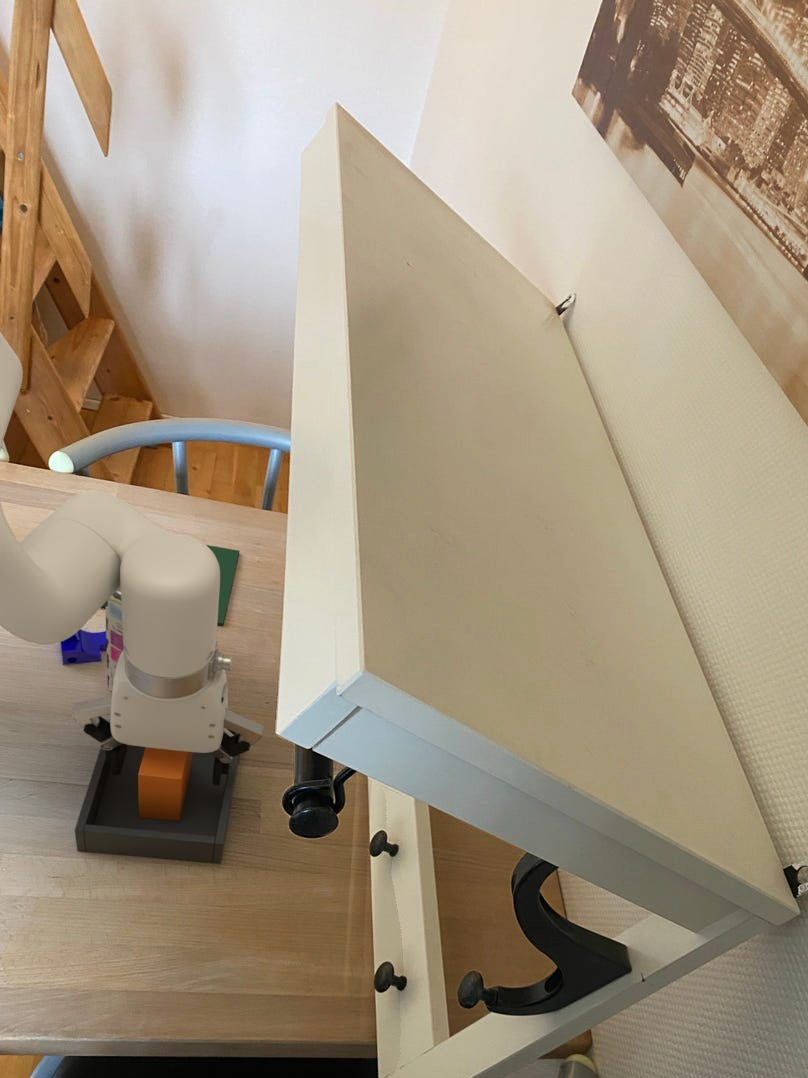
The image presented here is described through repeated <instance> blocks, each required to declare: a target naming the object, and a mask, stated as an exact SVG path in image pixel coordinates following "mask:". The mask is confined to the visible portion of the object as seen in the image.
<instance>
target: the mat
mask: <svg viewBox="0 0 808 1078" xmlns="http://www.w3.org/2000/svg"><path fill="white" fill-rule="evenodd" d="M205 545H206V546H207V547H208V548H209V549H210V550H211V551H212V552H213V553H214V555H215V557H216V559H217V561H218V564H219V568H220V588H219V604H218V620H217V626H220V627H224V625H225V624H224V623H225V620H226V616H227V611H228V606H229V601H230V597H231V592H232V587H233V583H234V578H235V574H236V570H237V565H238V560H239V557H240V556H239V555H240V550H238V549H232V548H227V547H221V546H215V545H209V544H205ZM100 609H106V606H105V603H104V604H103V606H102V607H101V608H100Z"/></svg>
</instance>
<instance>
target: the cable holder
mask: <svg viewBox="0 0 808 1078" xmlns="http://www.w3.org/2000/svg"><path fill="white" fill-rule="evenodd" d="M60 650H61V659H62V665H64V666H65V665H67V666H68V665H75V664H77V665H78V664H86V663H98V662H102V653H101V652H107V638H106V630H104V631H98V632H94V631H93V632H92V631H86V630H83V629H82V628H81V629H80V630H79V631H78V632H77V633H75V634H74V635H73V636H71V637H69V638H68V639H66V640H64V641H62V642H60Z"/></svg>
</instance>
